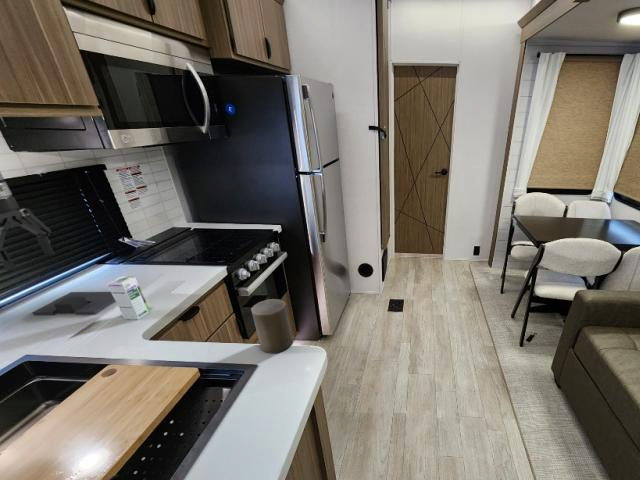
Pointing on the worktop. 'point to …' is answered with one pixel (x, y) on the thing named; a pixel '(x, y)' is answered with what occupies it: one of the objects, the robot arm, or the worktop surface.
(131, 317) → the syrup box
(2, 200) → the robot arm
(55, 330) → the worktop surface
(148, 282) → the worktop surface
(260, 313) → the pillar candle
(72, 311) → the black pad
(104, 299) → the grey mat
